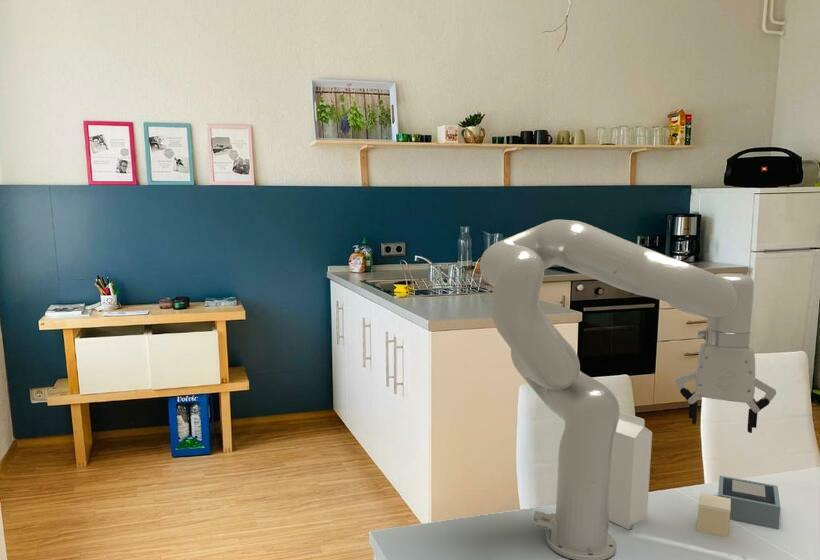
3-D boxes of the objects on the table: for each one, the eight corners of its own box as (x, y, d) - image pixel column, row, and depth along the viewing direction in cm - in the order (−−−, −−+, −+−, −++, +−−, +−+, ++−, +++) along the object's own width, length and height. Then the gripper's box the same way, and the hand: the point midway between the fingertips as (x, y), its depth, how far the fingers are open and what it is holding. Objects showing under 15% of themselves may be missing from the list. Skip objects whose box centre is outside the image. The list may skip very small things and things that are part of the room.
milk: (629, 530, 128) (635, 422, 125) (603, 518, 133) (609, 413, 130) (647, 521, 132) (653, 416, 129) (621, 510, 137) (627, 408, 134)
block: (730, 513, 134) (732, 490, 133) (730, 502, 139) (732, 479, 138) (763, 520, 131) (765, 496, 130) (762, 508, 136) (764, 485, 136)
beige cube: (696, 535, 127) (698, 503, 126) (698, 523, 132) (700, 492, 131) (727, 542, 124) (730, 510, 123) (728, 530, 129) (730, 498, 128)
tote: (716, 521, 133) (718, 495, 132) (717, 499, 142) (719, 475, 142) (778, 534, 128) (780, 507, 127) (775, 510, 137) (777, 485, 137)
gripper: (676, 338, 124) (671, 425, 126) (781, 348, 116) (773, 440, 118) (679, 331, 130) (674, 414, 133) (778, 340, 123) (771, 428, 125)
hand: (721, 426), depth 125 cm, fingers open, 9 cm apart
